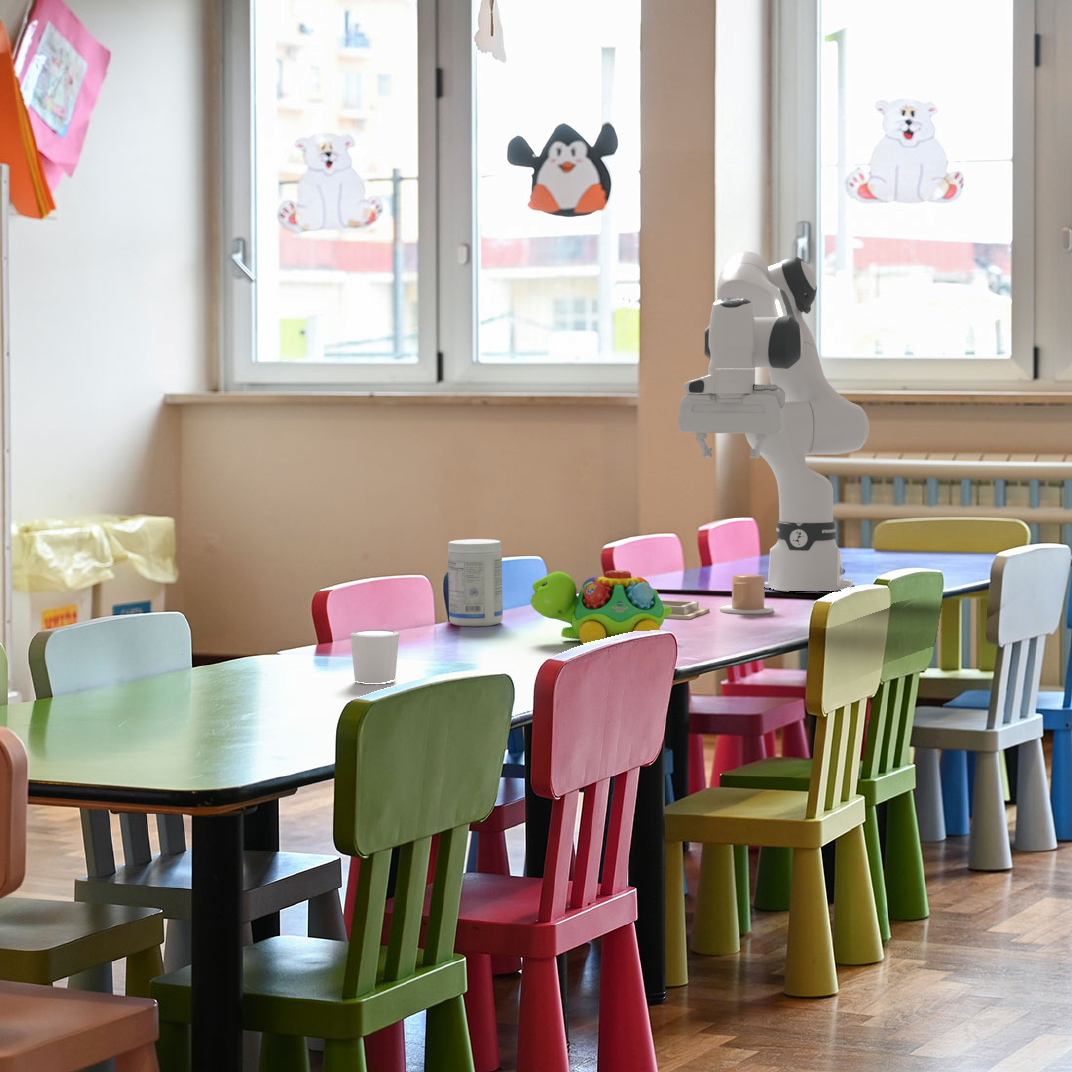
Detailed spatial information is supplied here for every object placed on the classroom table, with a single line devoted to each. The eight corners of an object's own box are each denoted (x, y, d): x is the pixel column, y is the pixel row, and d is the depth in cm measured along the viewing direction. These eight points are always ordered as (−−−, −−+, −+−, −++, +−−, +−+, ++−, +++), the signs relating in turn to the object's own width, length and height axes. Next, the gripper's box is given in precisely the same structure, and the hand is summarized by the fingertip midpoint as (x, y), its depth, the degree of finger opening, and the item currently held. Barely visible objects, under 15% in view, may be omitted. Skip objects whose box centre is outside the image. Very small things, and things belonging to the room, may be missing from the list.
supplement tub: (481, 618, 312) (480, 537, 310) (513, 624, 304) (513, 541, 303) (437, 623, 305) (437, 540, 304) (470, 628, 298) (469, 544, 297)
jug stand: (648, 608, 326) (648, 598, 326) (709, 611, 321) (709, 601, 321) (626, 616, 315) (626, 605, 315) (688, 619, 310) (688, 608, 310)
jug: (767, 606, 323) (768, 575, 323) (754, 612, 315) (754, 580, 314) (737, 605, 326) (737, 573, 325) (722, 611, 317) (722, 578, 316)
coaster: (728, 606, 329) (728, 603, 329) (779, 609, 325) (779, 606, 325) (712, 612, 320) (712, 609, 320) (764, 615, 316) (765, 612, 316)
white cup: (343, 680, 244) (342, 631, 243) (387, 676, 247) (386, 628, 247) (362, 687, 238) (362, 637, 237) (407, 683, 241) (407, 633, 241)
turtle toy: (529, 635, 291) (529, 566, 290) (666, 634, 291) (667, 565, 290) (531, 650, 274) (531, 576, 273) (677, 649, 274) (677, 576, 274)
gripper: (789, 384, 324) (788, 458, 325) (686, 384, 332) (685, 455, 333) (780, 384, 318) (779, 459, 319) (675, 384, 326) (674, 457, 327)
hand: (730, 457), depth 326 cm, fingers open, 8 cm apart
